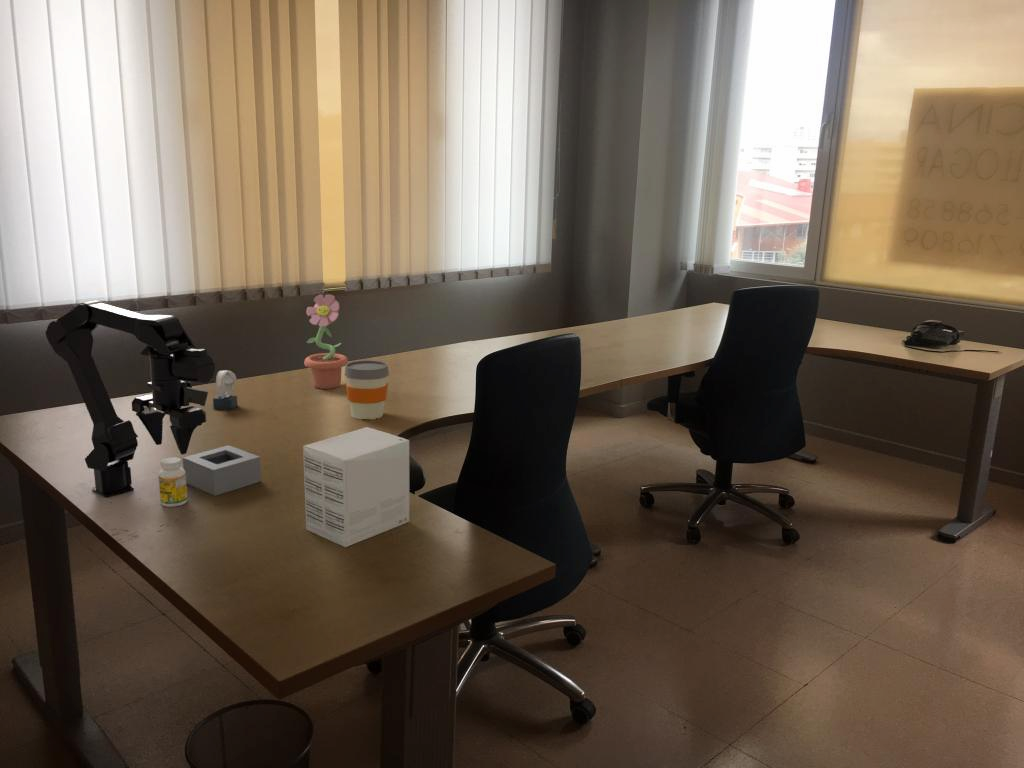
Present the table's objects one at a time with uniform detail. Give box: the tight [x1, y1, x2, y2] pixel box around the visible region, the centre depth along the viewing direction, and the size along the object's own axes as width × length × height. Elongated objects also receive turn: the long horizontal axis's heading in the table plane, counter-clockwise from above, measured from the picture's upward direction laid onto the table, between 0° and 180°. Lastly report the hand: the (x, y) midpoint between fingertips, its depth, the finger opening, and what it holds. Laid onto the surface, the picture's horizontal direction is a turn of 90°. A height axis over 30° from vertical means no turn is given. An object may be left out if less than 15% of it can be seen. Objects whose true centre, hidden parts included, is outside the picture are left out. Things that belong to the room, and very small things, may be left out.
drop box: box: [182, 444, 262, 497], centre depth 199 cm, size 12×12×6 cm
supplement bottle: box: [158, 457, 188, 508], centre depth 187 cm, size 5×5×10 cm
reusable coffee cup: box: [344, 359, 389, 420], centre depth 253 cm, size 13×13×15 cm
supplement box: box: [302, 426, 410, 548], centre depth 177 cm, size 17×13×18 cm
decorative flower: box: [304, 293, 349, 390], centre depth 281 cm, size 15×14×30 cm
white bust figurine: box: [212, 369, 238, 410], centre depth 257 cm, size 6×8×11 cm
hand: (171, 449), depth 185 cm, fingers open, 9 cm apart
